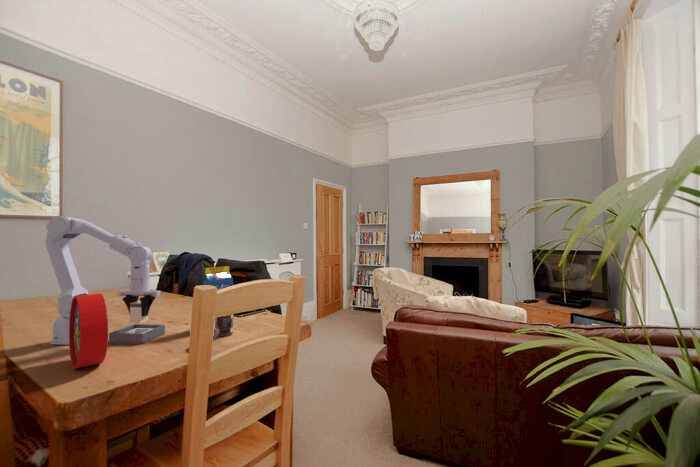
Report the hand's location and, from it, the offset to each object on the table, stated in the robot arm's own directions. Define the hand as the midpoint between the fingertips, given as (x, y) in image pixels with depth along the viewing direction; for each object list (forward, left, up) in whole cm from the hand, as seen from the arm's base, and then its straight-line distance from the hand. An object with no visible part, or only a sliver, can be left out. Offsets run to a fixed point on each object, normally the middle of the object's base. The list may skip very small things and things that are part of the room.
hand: (138, 315), depth 113 cm
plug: (0, 0, -2) cm, 2 cm away
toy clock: (+3, -24, -8) cm, 26 cm away
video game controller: (+28, -5, -8) cm, 29 cm away
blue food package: (+21, +17, -8) cm, 28 cm away
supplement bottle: (+29, +7, -8) cm, 31 cm away
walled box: (0, 0, -8) cm, 8 cm away
